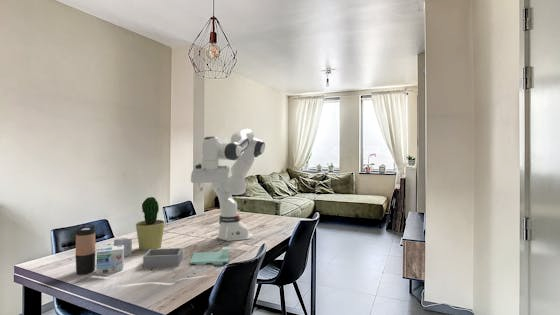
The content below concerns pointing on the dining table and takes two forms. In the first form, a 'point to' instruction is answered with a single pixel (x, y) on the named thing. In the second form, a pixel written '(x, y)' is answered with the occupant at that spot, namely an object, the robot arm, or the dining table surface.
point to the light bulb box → (110, 259)
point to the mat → (224, 262)
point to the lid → (210, 257)
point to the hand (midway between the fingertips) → (210, 190)
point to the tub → (162, 257)
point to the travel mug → (85, 250)
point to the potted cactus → (150, 226)
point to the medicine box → (126, 243)
